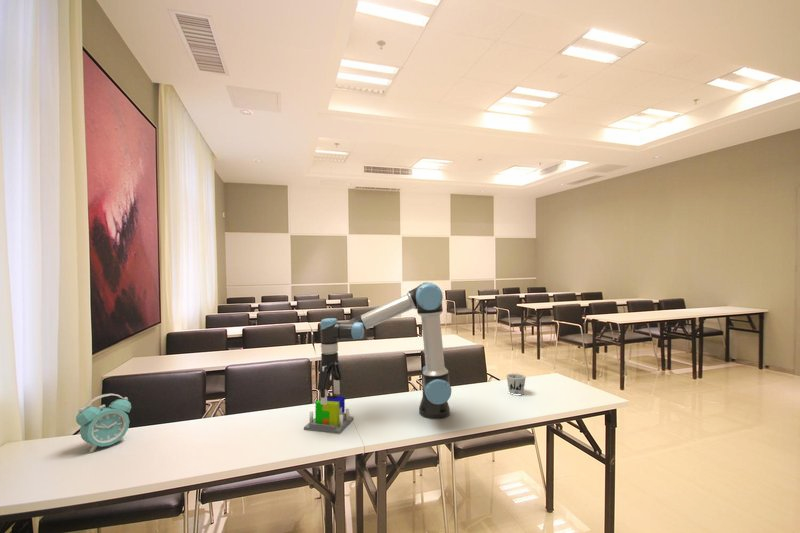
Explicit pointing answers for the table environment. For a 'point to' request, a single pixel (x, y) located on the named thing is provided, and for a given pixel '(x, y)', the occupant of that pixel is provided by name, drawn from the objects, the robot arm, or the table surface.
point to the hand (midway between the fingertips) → (330, 399)
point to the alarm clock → (104, 422)
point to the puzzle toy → (330, 410)
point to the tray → (329, 428)
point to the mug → (516, 383)
